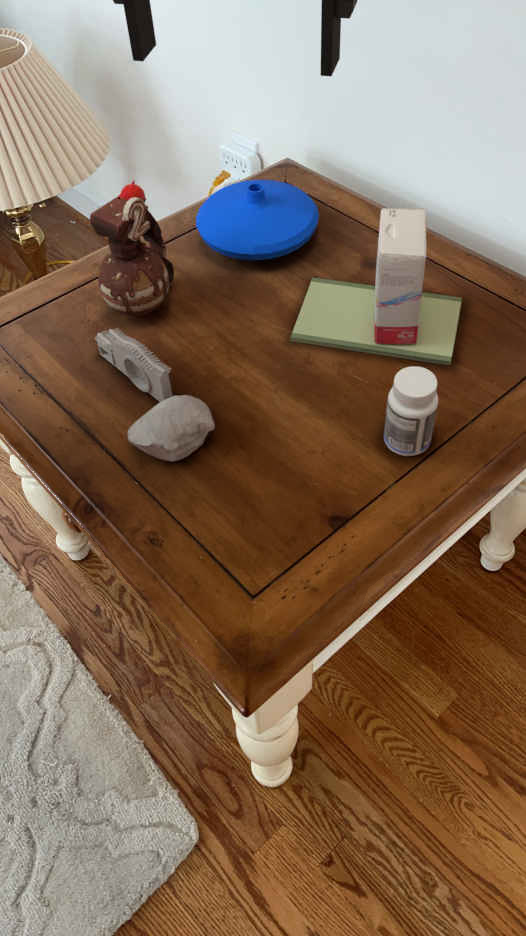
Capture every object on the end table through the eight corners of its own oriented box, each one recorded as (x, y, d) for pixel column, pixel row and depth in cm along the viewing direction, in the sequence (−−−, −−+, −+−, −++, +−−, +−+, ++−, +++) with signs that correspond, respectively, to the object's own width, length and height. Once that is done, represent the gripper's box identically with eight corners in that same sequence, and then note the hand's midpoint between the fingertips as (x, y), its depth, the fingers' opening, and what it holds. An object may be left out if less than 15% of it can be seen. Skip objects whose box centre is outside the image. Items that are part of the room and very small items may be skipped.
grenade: (140, 272, 94) (116, 160, 82) (193, 292, 91) (175, 179, 79) (92, 316, 89) (59, 204, 77) (146, 338, 86) (120, 225, 75)
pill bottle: (416, 416, 77) (426, 357, 71) (439, 448, 74) (451, 390, 68) (374, 430, 76) (381, 371, 70) (396, 463, 73) (405, 405, 67)
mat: (290, 341, 85) (290, 337, 84) (312, 281, 91) (312, 277, 91) (450, 365, 81) (451, 361, 81) (461, 301, 88) (462, 297, 87)
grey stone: (181, 482, 73) (174, 450, 69) (117, 450, 76) (107, 418, 72) (230, 425, 78) (226, 391, 74) (167, 397, 80) (160, 363, 77)
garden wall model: (98, 356, 85) (86, 316, 80) (111, 348, 86) (100, 308, 81) (165, 410, 79) (157, 370, 75) (178, 401, 80) (170, 361, 75)
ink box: (416, 347, 83) (430, 258, 73) (370, 345, 83) (378, 256, 74) (415, 296, 88) (428, 207, 79) (372, 294, 88) (380, 205, 79)
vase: (174, 237, 98) (166, 188, 93) (262, 188, 104) (259, 140, 99) (253, 291, 91) (249, 241, 85) (343, 235, 97) (346, 185, 91)
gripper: (475, -425, 35) (421, 48, 52) (5, -400, 40) (93, 25, 57) (458, -413, 31) (404, 100, 48) (-68, -386, 36) (51, 70, 53)
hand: (235, 60), depth 52 cm, fingers open, 13 cm apart
